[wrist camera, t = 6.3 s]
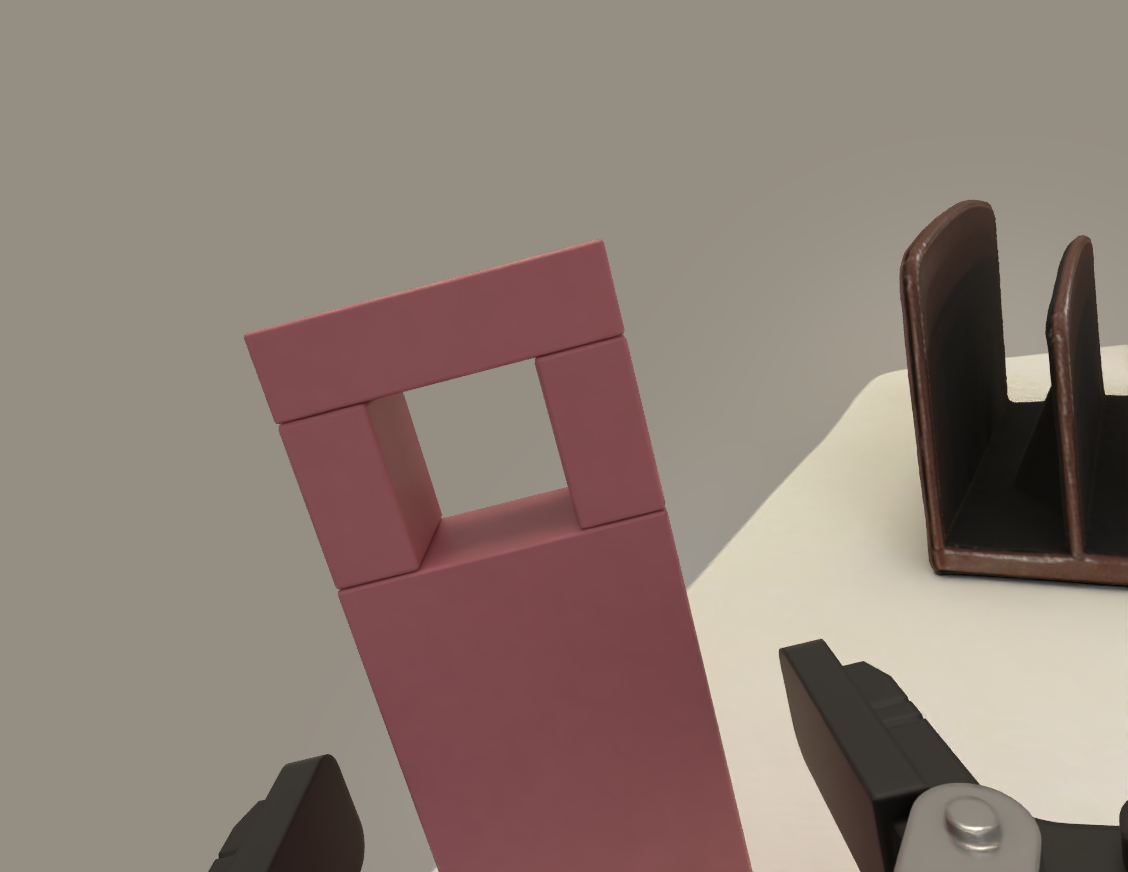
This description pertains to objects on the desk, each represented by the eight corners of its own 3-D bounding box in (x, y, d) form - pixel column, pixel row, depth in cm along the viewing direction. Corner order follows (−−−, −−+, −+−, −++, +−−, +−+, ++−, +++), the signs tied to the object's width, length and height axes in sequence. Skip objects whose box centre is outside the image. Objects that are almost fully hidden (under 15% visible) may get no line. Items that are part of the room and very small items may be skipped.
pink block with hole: (800, 1076, 14) (602, 237, 10) (532, 1133, 14) (240, 334, 10) (763, 954, 16) (593, 244, 12) (536, 1004, 16) (301, 321, 13)
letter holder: (929, 576, 29) (879, 235, 26) (998, 422, 44) (971, 191, 40) (1267, 601, 23) (1256, 152, 19) (1217, 411, 37) (1205, 135, 34)
